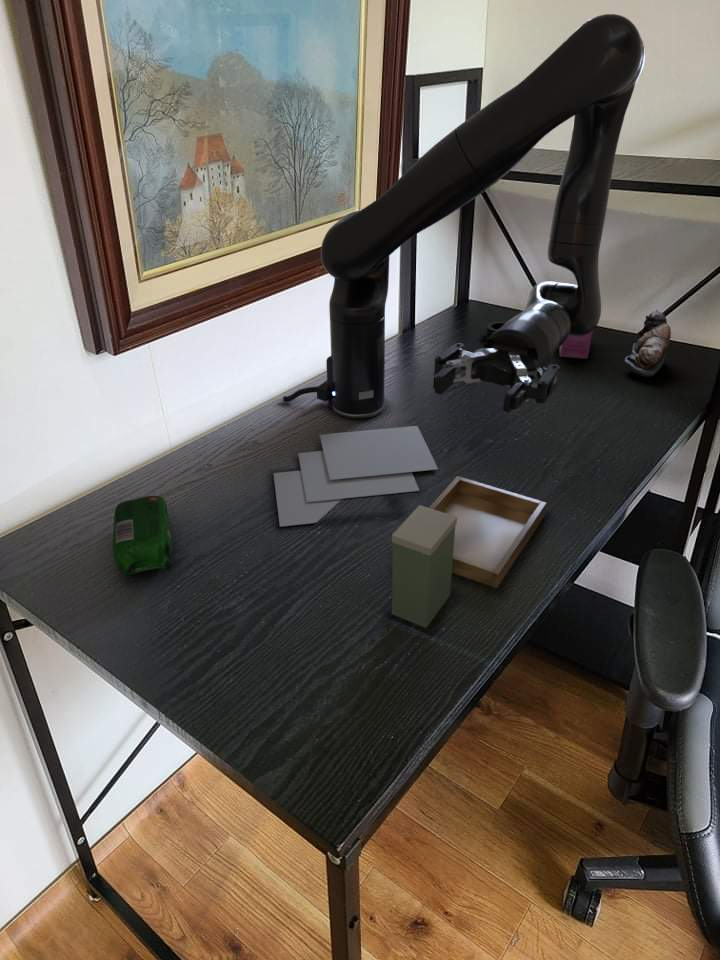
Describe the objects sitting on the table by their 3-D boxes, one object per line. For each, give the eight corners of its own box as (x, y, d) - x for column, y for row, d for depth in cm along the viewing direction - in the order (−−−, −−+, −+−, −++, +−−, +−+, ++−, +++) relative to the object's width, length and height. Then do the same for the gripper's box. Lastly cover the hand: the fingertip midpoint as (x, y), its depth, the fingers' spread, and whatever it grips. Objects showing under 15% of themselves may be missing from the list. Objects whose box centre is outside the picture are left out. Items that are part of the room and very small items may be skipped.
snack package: (118, 595, 90) (109, 562, 87) (118, 521, 102) (111, 491, 99) (176, 584, 91) (170, 552, 88) (170, 513, 104) (165, 483, 101)
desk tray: (399, 554, 96) (399, 539, 94) (456, 489, 108) (457, 475, 107) (496, 590, 90) (498, 574, 88) (544, 517, 102) (546, 502, 101)
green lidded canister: (390, 615, 86) (391, 535, 79) (416, 583, 91) (419, 504, 84) (426, 630, 84) (430, 548, 77) (451, 596, 89) (457, 516, 82)
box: (588, 359, 147) (598, 302, 140) (559, 357, 148) (568, 300, 141) (585, 339, 155) (595, 285, 149) (558, 337, 156) (566, 283, 150)
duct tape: (526, 335, 157) (528, 323, 156) (505, 351, 151) (506, 337, 149) (494, 328, 161) (495, 315, 160) (472, 342, 154) (473, 329, 153)
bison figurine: (658, 384, 137) (670, 333, 131) (619, 377, 140) (630, 327, 134) (665, 360, 146) (677, 311, 140) (629, 354, 149) (639, 306, 143)
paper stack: (454, 508, 104) (455, 504, 104) (279, 526, 101) (279, 522, 100) (417, 429, 123) (417, 425, 123) (269, 442, 120) (269, 439, 120)
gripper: (474, 308, 95) (417, 351, 84) (581, 330, 89) (536, 379, 77) (469, 361, 99) (414, 409, 88) (571, 385, 93) (527, 440, 82)
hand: (471, 395), depth 83 cm, fingers open, 8 cm apart
